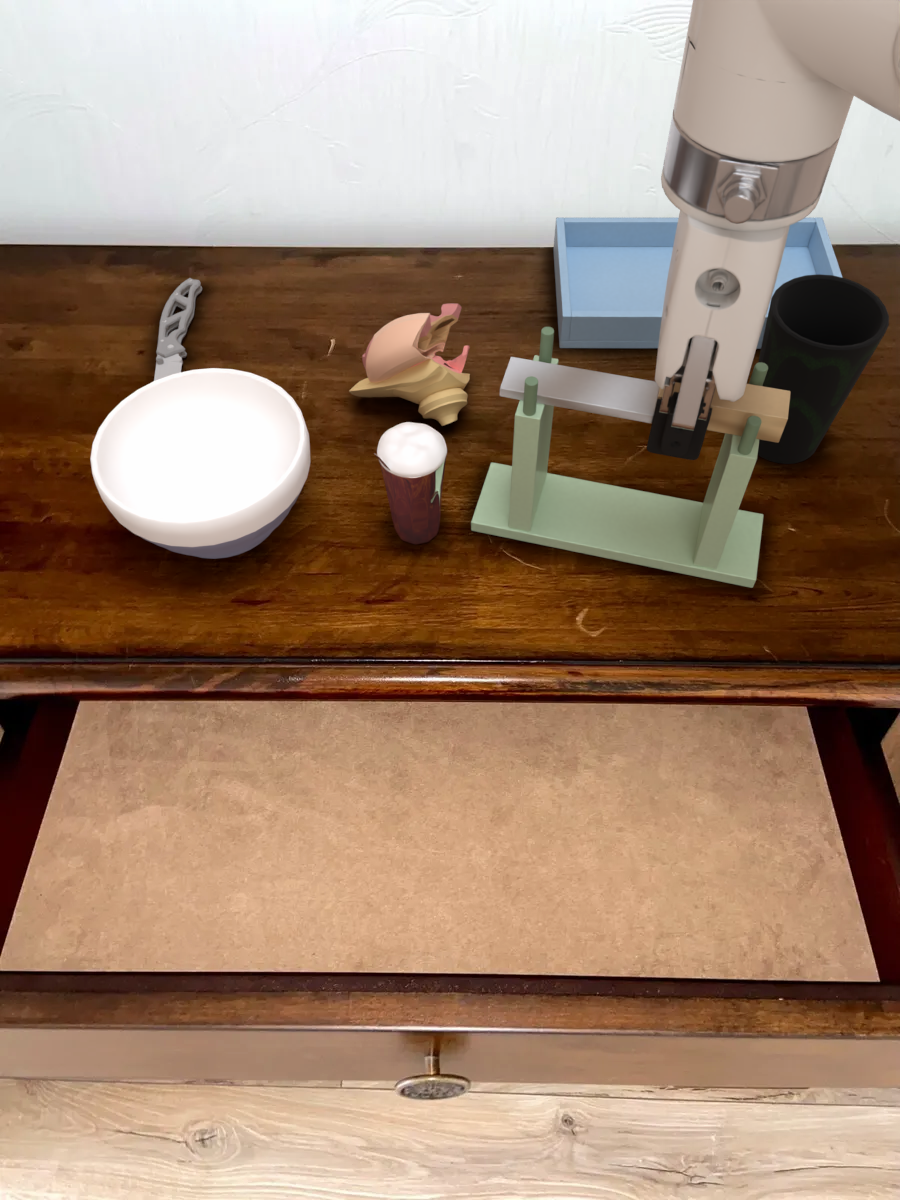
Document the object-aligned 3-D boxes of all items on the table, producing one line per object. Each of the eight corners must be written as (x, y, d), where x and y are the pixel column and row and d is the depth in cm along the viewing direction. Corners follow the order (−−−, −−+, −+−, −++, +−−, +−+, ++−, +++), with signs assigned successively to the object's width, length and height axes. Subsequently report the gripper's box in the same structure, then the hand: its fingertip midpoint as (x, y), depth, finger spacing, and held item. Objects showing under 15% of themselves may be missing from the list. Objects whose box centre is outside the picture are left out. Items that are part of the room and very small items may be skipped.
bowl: (263, 620, 64) (241, 552, 58) (82, 558, 67) (43, 487, 61) (354, 470, 72) (343, 396, 65) (188, 421, 75) (162, 345, 68)
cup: (719, 457, 72) (760, 331, 62) (741, 392, 76) (783, 263, 66) (822, 485, 70) (881, 360, 60) (839, 416, 74) (897, 288, 64)
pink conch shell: (506, 412, 75) (463, 403, 67) (400, 455, 79) (345, 452, 71) (471, 303, 76) (423, 279, 67) (366, 351, 80) (308, 335, 71)
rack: (760, 522, 68) (822, 368, 56) (752, 588, 65) (817, 439, 53) (490, 470, 71) (495, 314, 59) (470, 531, 68) (471, 378, 56)
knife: (184, 429, 75) (146, 431, 74) (204, 288, 84) (170, 290, 84) (179, 415, 73) (140, 417, 73) (200, 273, 83) (165, 275, 83)
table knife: (781, 411, 58) (791, 387, 56) (778, 446, 56) (787, 422, 54) (510, 364, 60) (511, 339, 59) (499, 396, 59) (500, 372, 57)
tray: (811, 249, 86) (822, 217, 83) (842, 349, 78) (856, 317, 76) (553, 249, 86) (556, 217, 84) (559, 348, 79) (562, 316, 76)
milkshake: (364, 535, 68) (350, 437, 60) (416, 493, 70) (409, 392, 62) (410, 569, 66) (401, 473, 58) (461, 525, 68) (460, 426, 60)
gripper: (820, 274, 39) (722, 545, 54) (836, 79, 48) (748, 360, 63) (640, 247, 41) (593, 519, 56) (688, 62, 49) (636, 341, 64)
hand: (676, 432), depth 59 cm, fingers closed on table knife, 2 cm apart
